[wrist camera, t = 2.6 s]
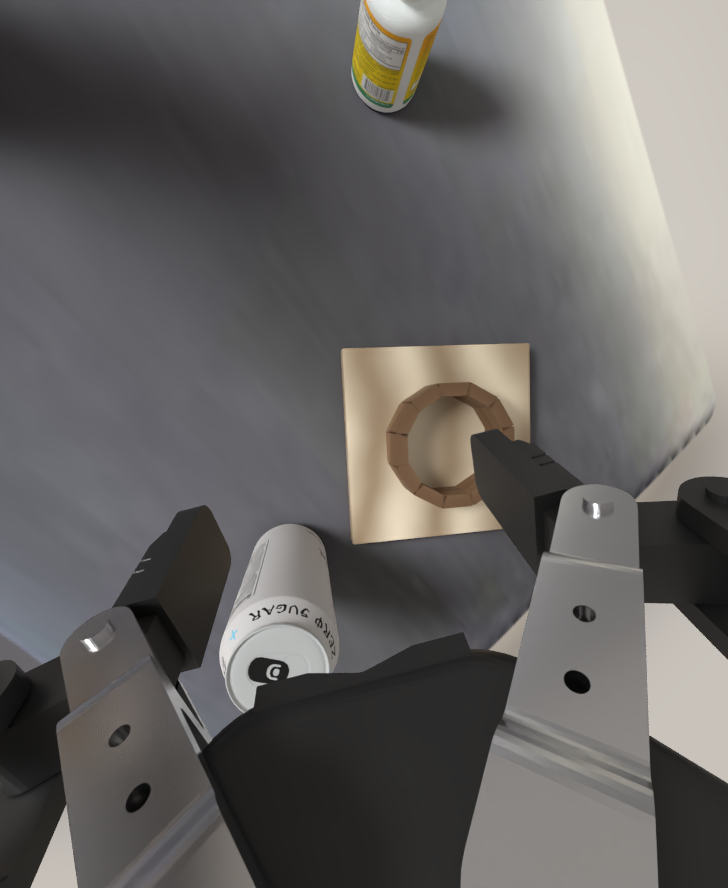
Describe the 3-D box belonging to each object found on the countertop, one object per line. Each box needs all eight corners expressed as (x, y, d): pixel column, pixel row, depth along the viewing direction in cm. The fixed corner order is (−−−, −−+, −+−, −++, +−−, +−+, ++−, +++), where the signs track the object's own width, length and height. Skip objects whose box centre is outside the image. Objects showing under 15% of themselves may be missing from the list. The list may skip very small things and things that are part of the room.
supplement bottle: (363, 123, 31) (389, -5, 21) (341, 50, 30) (358, -115, 21) (425, 106, 31) (477, -25, 22) (404, 35, 31) (450, -132, 21)
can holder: (351, 538, 34) (358, 558, 29) (340, 351, 32) (346, 342, 28) (521, 521, 36) (552, 536, 31) (519, 345, 34) (551, 336, 30)
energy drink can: (314, 595, 34) (322, 742, 19) (245, 581, 32) (196, 724, 18) (333, 529, 33) (357, 626, 18) (264, 512, 32) (231, 601, 17)
